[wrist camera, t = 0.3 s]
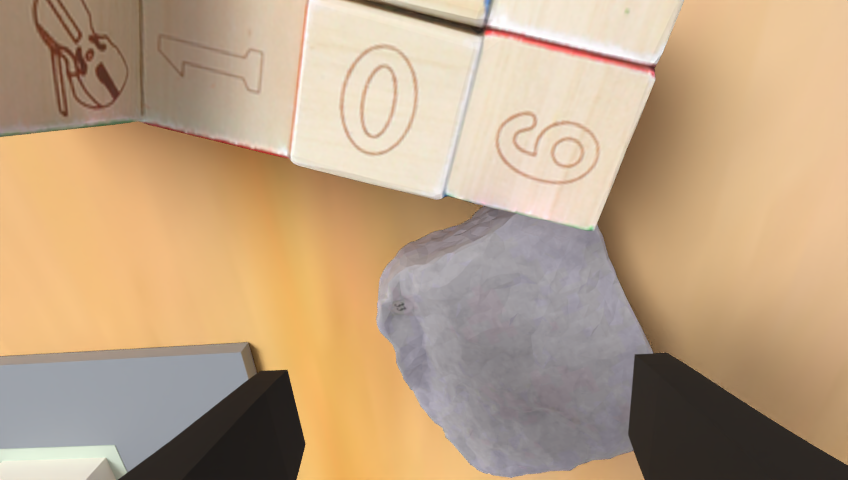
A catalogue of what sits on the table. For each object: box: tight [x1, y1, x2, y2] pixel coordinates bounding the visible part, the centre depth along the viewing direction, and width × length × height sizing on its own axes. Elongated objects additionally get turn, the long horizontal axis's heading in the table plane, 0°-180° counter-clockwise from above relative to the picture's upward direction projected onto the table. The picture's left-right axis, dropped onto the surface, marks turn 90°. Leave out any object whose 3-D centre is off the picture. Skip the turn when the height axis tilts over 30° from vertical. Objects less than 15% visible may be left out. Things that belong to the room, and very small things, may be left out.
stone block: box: [376, 206, 653, 478], centre depth 18 cm, size 12×5×10 cm
